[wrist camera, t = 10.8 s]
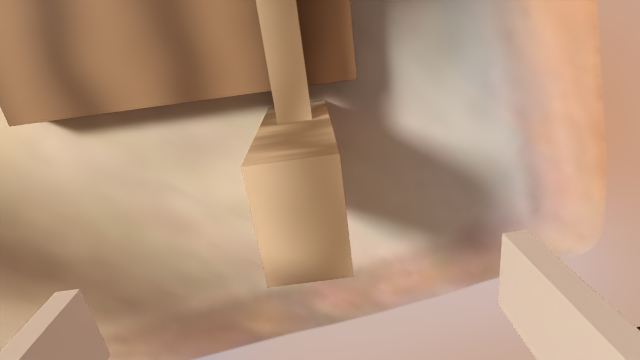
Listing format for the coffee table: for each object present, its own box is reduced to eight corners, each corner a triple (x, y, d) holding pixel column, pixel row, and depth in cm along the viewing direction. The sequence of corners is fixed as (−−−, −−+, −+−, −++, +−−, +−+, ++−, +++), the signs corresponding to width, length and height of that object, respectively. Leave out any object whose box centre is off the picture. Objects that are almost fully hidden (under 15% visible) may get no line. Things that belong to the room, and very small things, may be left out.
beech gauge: (282, 186, 28) (267, 287, 17) (238, -58, 22) (171, -144, 11) (334, 179, 28) (353, 276, 17) (304, -67, 22) (303, -163, 11)
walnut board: (36, 117, 26) (8, 126, 23) (-27, -30, 22) (-67, -37, 20) (352, 74, 25) (357, 79, 23) (337, -82, 22) (341, -96, 20)
